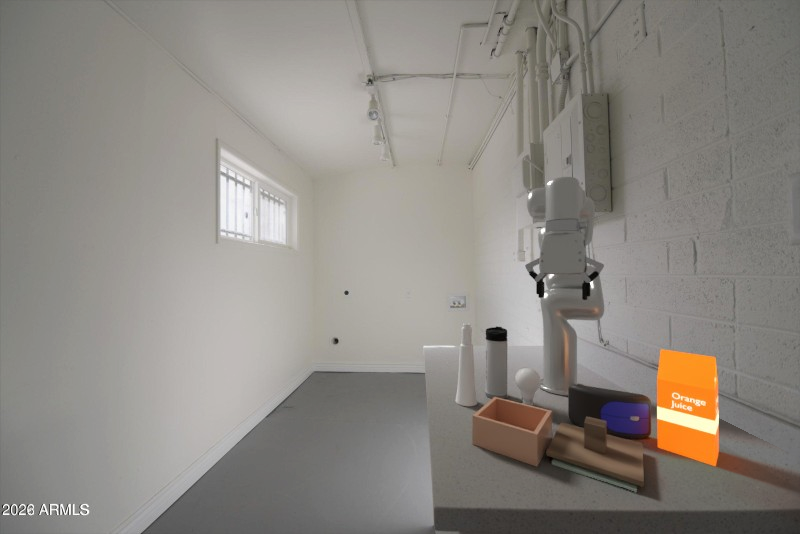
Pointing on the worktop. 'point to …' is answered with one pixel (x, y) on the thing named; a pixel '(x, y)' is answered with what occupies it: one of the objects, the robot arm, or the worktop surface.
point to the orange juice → (688, 405)
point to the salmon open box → (513, 429)
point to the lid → (598, 450)
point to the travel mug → (496, 363)
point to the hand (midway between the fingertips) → (562, 298)
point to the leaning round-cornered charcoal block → (611, 410)
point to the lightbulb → (527, 384)
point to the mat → (594, 474)
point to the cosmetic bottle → (466, 370)
